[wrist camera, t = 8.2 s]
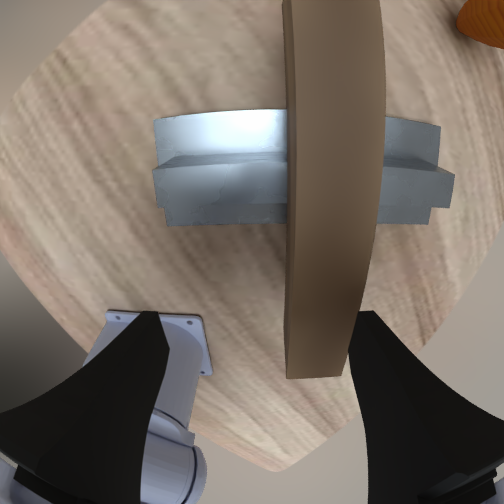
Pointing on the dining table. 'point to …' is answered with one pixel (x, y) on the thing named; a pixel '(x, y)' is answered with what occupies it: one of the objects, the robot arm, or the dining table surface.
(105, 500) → the robot arm
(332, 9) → the walnut rod
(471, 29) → the carrot
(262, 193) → the stand
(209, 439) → the dining table surface
